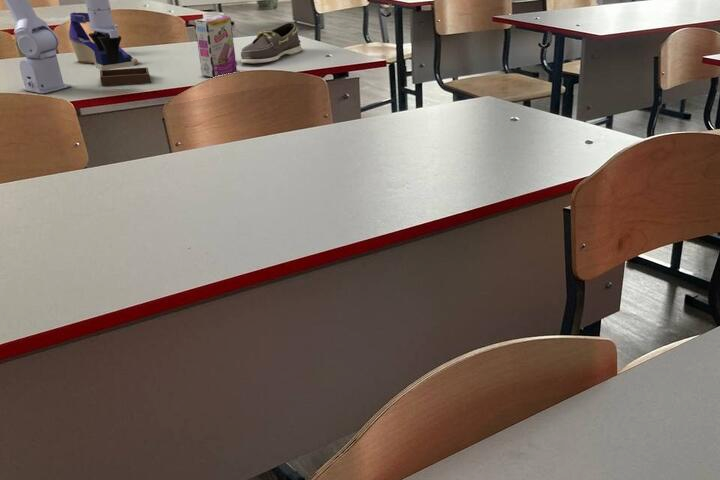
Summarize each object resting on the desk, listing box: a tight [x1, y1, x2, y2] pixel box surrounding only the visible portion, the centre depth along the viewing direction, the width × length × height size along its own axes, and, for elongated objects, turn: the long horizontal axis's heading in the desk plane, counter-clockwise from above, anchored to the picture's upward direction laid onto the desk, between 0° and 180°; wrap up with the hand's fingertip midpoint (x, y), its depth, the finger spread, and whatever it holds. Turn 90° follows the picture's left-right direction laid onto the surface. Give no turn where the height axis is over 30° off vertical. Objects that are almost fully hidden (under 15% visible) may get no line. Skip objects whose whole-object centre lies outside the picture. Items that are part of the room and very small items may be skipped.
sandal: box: [68, 11, 139, 66], centre depth 240 cm, size 8×20×15 cm, turn 78°
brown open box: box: [99, 67, 152, 87], centre depth 224 cm, size 13×9×3 cm, turn 114°
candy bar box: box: [194, 15, 238, 79], centre depth 231 cm, size 11×5×16 cm, turn 157°
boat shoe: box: [240, 22, 302, 64], centre depth 254 cm, size 11×31×9 cm, turn 159°
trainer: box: [94, 50, 135, 71], centre depth 211 cm, size 9×4×4 cm, turn 134°
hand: (110, 61), depth 210 cm, fingers closed on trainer, 4 cm apart
